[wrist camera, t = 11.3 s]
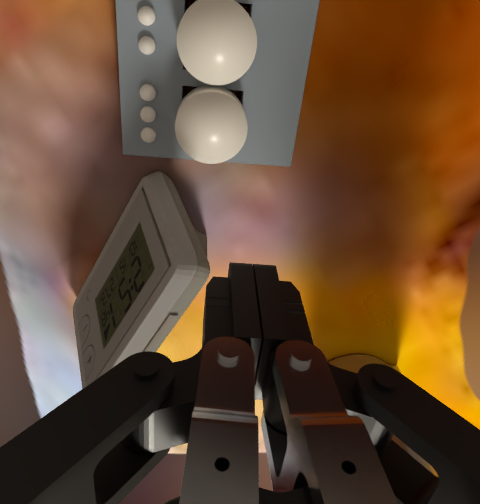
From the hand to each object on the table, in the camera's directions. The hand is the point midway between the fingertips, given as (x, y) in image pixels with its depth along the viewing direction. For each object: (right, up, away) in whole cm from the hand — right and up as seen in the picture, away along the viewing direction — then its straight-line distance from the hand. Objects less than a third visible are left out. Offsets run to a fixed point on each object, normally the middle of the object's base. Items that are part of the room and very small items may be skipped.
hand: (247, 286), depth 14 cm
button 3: (-2, +11, +16) cm, 19 cm away
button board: (-2, +15, +14) cm, 20 cm away
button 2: (-2, +15, +13) cm, 20 cm away
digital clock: (-9, +1, +23) cm, 24 cm away
